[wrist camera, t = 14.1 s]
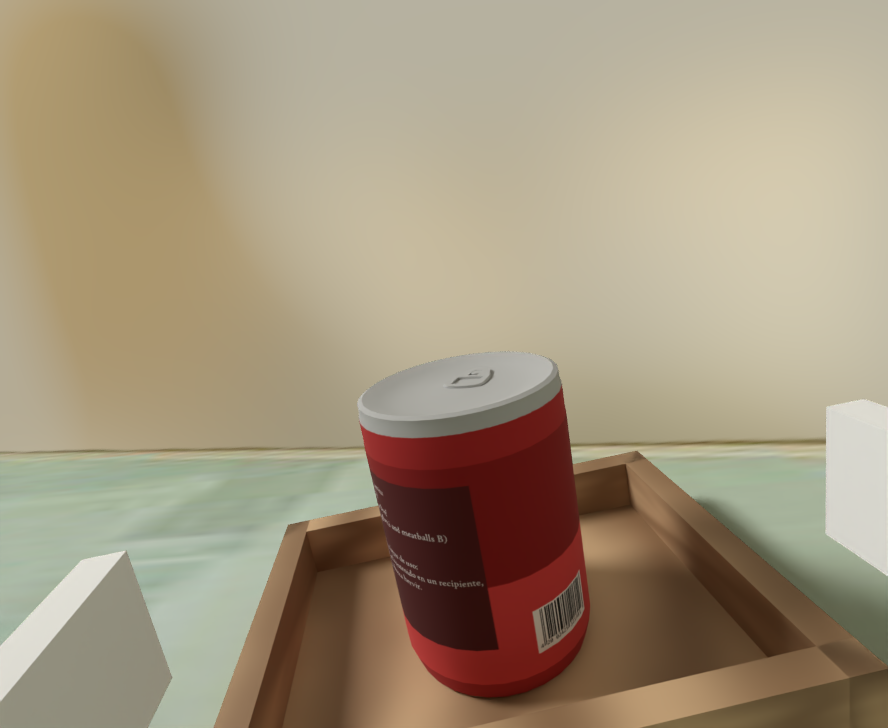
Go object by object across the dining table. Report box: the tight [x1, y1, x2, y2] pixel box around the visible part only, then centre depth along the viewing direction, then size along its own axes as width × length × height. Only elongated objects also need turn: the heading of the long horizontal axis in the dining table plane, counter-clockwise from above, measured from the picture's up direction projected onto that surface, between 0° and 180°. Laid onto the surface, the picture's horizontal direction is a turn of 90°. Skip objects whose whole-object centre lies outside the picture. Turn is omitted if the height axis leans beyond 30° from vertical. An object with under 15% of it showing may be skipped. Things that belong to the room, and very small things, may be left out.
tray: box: [214, 451, 888, 728], centre depth 23 cm, size 20×16×3 cm
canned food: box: [357, 352, 590, 697], centre depth 21 cm, size 8×8×11 cm
